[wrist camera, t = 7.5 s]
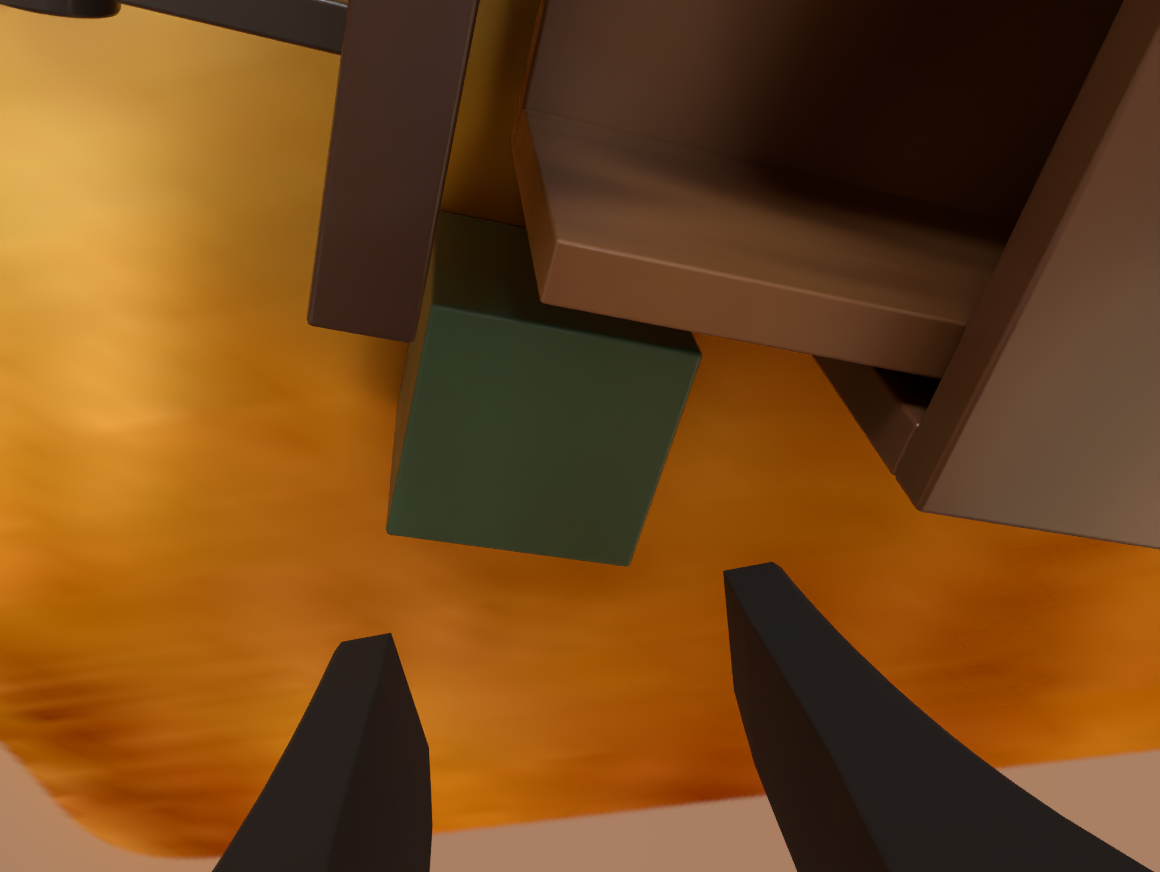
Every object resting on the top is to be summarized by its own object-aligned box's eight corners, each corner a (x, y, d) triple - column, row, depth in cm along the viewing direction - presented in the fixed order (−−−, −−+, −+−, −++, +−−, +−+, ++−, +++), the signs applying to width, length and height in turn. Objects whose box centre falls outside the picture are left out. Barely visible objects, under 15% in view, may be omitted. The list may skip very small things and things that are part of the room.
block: (434, 207, 19) (430, 302, 15) (656, 254, 20) (704, 354, 16) (396, 409, 21) (385, 536, 17) (599, 441, 22) (629, 568, 18)
